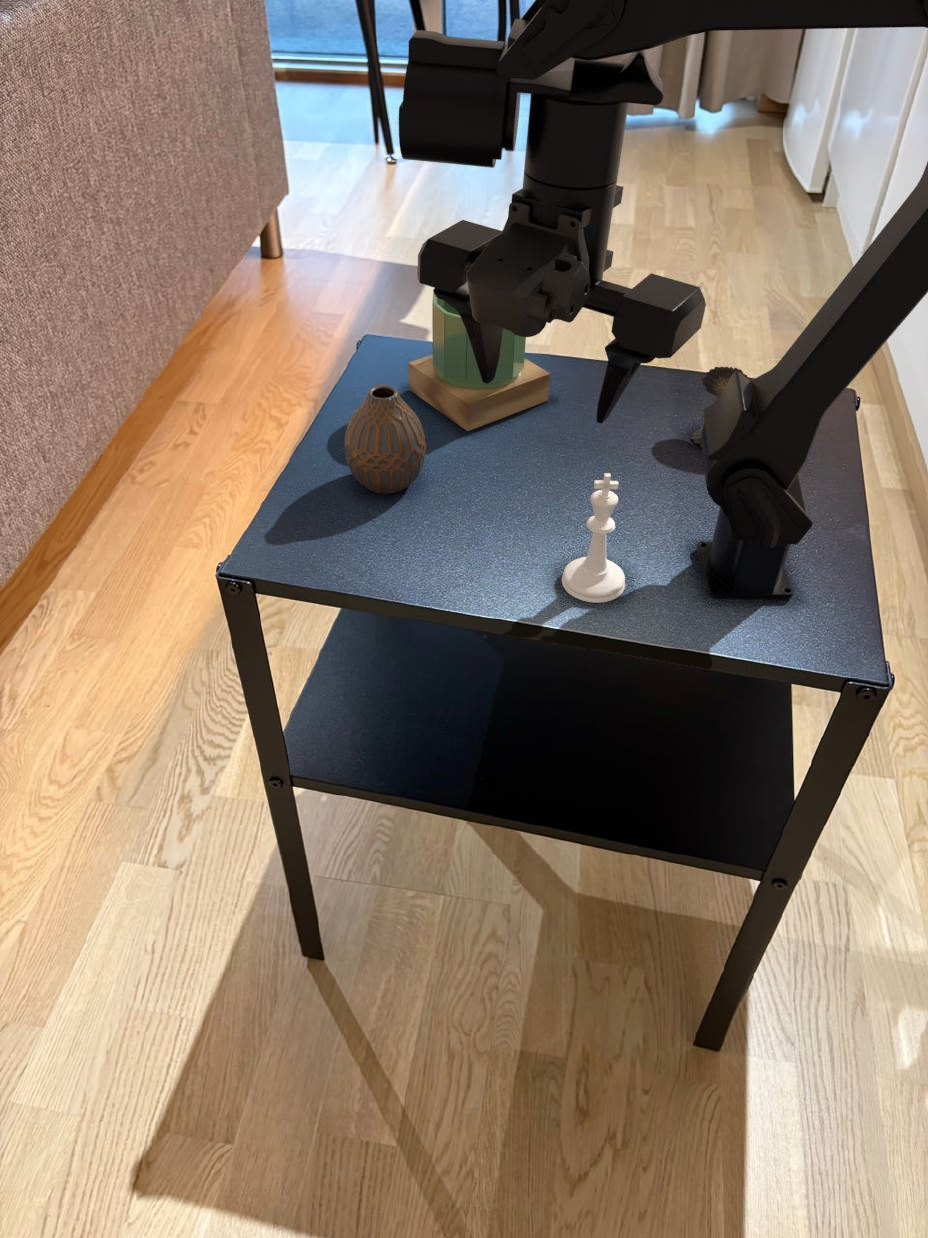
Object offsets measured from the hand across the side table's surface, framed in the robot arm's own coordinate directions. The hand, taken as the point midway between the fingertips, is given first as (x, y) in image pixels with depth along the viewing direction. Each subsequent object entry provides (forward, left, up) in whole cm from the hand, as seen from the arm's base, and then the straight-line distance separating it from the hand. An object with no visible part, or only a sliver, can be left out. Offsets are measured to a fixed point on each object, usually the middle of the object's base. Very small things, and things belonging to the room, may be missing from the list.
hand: (543, 400), depth 71 cm
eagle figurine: (+18, -21, -14) cm, 31 cm away
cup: (+26, +4, -11) cm, 28 cm away
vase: (+10, +12, -14) cm, 21 cm away
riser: (+25, +4, -14) cm, 29 cm away
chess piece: (-3, -5, -14) cm, 15 cm away
